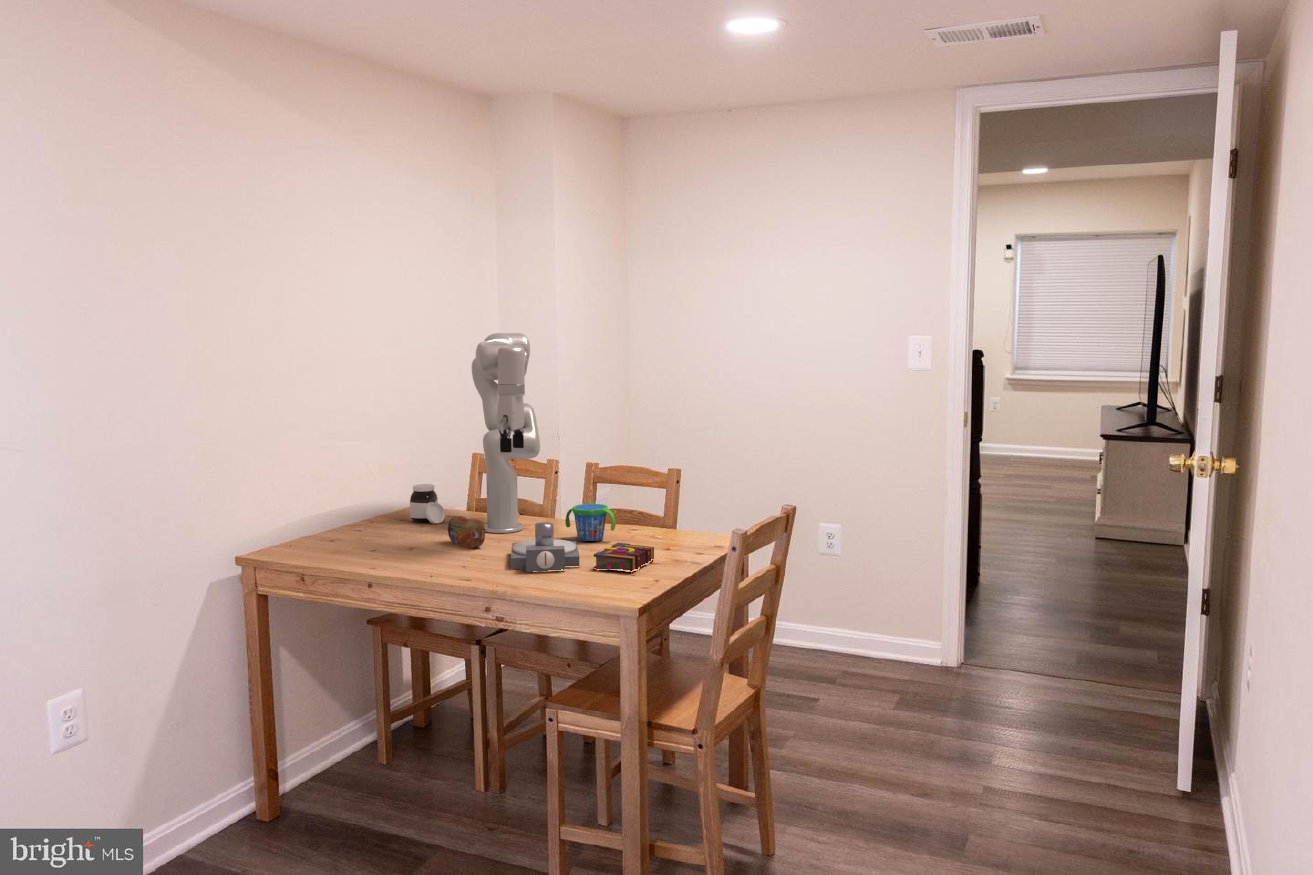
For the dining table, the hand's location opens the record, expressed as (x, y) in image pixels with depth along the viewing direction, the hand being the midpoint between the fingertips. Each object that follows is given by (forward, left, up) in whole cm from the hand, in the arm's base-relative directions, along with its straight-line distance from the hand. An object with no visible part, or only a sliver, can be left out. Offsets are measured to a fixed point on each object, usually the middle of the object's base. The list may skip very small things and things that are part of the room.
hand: (512, 450), depth 282 cm
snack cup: (-14, +19, -28) cm, 37 cm away
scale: (+15, +15, -28) cm, 35 cm away
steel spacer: (+13, +14, -24) cm, 31 cm away
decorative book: (+14, +37, -29) cm, 49 cm away
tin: (+1, -14, -29) cm, 32 cm away
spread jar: (-28, -40, -29) cm, 57 cm away
